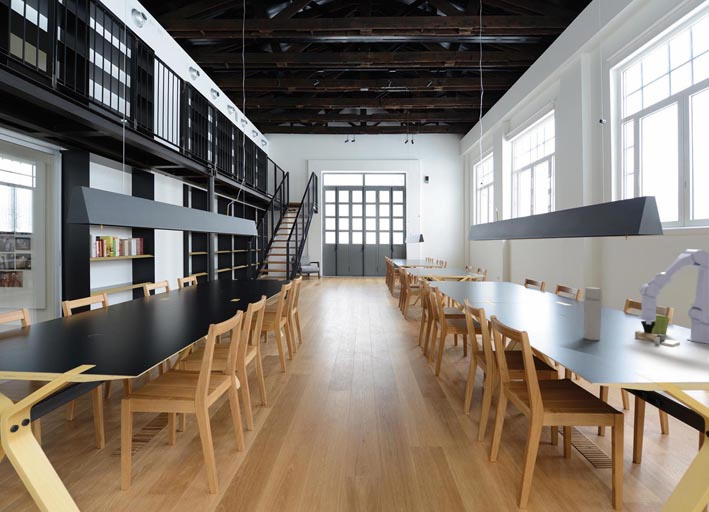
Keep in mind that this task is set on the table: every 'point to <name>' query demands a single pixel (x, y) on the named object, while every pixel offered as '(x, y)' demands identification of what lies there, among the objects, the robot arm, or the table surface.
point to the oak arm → (649, 336)
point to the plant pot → (660, 325)
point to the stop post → (657, 341)
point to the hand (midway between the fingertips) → (647, 336)
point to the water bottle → (592, 313)
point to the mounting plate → (670, 343)
